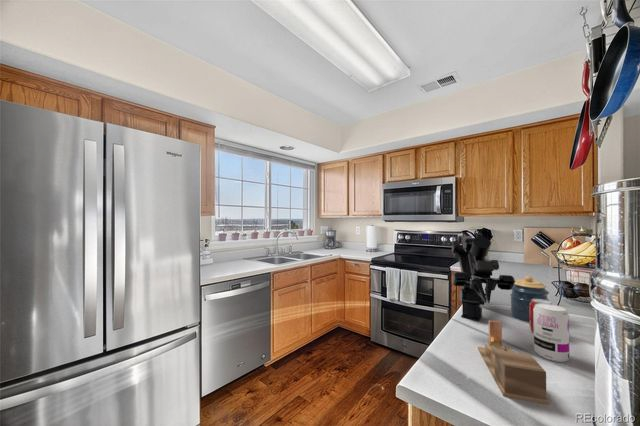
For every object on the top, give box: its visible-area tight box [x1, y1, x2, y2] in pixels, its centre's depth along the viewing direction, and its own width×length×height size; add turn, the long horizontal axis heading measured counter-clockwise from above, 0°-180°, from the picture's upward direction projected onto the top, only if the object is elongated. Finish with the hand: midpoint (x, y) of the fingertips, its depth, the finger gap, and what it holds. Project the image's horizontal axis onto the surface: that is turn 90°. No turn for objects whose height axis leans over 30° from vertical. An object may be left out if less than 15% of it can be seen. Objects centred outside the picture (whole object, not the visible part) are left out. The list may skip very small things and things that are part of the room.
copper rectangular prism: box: [488, 319, 505, 351], centre depth 75 cm, size 13×3×9 cm, turn 161°
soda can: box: [529, 299, 553, 333], centre depth 95 cm, size 7×7×12 cm
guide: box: [477, 344, 550, 405], centre depth 71 cm, size 23×9×7 cm, turn 161°
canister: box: [510, 275, 550, 322], centre depth 111 cm, size 13×13×18 cm
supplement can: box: [533, 303, 570, 363], centre depth 80 cm, size 8×8×15 cm
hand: (487, 302), depth 89 cm, fingers closed
